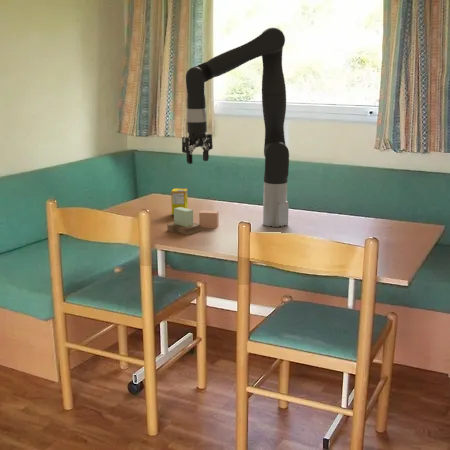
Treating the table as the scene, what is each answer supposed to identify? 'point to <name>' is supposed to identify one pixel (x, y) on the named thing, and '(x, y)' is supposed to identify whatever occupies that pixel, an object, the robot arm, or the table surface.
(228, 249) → the table surface
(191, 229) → the walnut slab
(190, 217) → the sage brick
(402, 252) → the table surface
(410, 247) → the table surface
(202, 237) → the table surface
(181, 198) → the supplement box
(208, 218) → the terracotta brick
